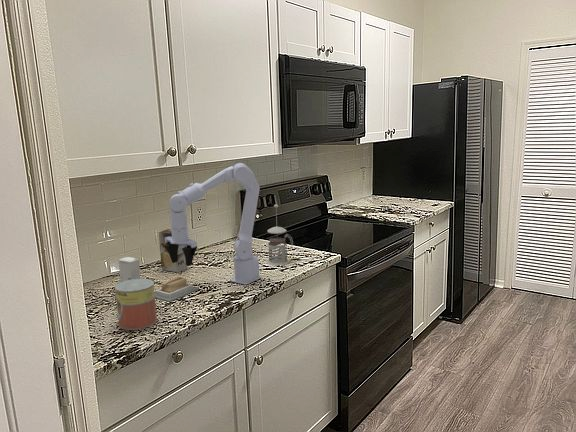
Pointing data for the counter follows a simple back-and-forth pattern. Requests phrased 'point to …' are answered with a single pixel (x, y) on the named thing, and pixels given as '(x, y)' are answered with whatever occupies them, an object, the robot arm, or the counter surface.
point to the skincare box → (129, 268)
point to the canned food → (136, 303)
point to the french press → (280, 258)
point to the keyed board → (174, 293)
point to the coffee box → (165, 256)
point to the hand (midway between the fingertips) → (182, 263)
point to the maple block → (174, 284)
